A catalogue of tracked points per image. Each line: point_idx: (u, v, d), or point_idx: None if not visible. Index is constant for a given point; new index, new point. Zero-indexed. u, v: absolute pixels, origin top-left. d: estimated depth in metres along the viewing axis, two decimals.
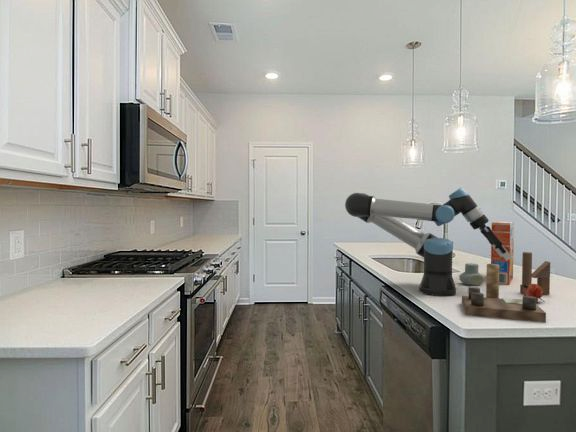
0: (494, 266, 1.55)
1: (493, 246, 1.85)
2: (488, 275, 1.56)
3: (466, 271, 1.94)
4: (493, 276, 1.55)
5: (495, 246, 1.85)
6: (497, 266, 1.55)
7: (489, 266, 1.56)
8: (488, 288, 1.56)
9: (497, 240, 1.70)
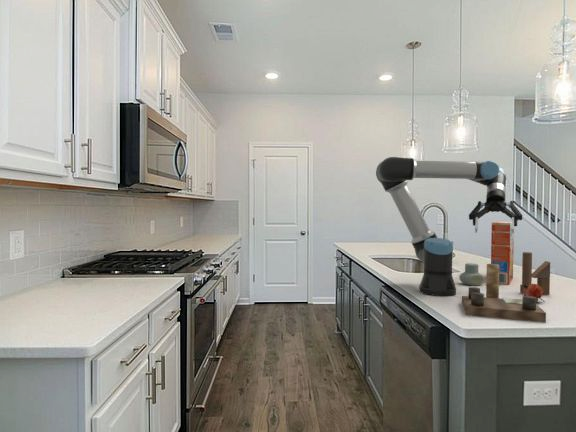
0: (494, 266, 1.55)
1: (477, 218, 1.72)
2: (488, 275, 1.56)
3: (466, 271, 1.94)
4: (493, 276, 1.55)
5: (477, 220, 1.72)
6: (497, 266, 1.55)
7: (489, 266, 1.56)
8: (488, 288, 1.56)
9: None
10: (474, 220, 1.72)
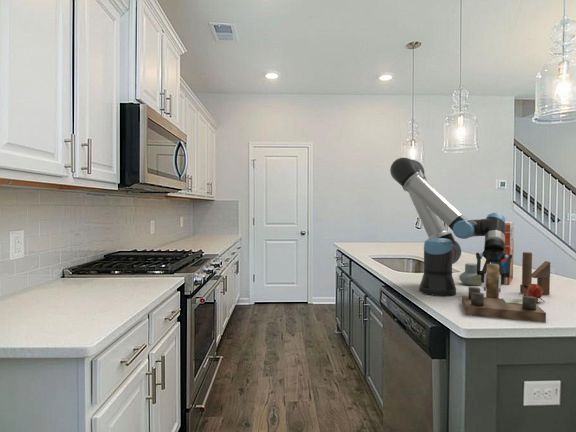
0: (494, 266, 1.55)
1: (486, 275, 1.58)
2: (488, 275, 1.56)
3: (466, 271, 1.94)
4: (493, 276, 1.55)
5: None
6: (497, 266, 1.55)
7: (489, 266, 1.56)
8: (488, 288, 1.56)
9: None
10: (482, 277, 1.58)
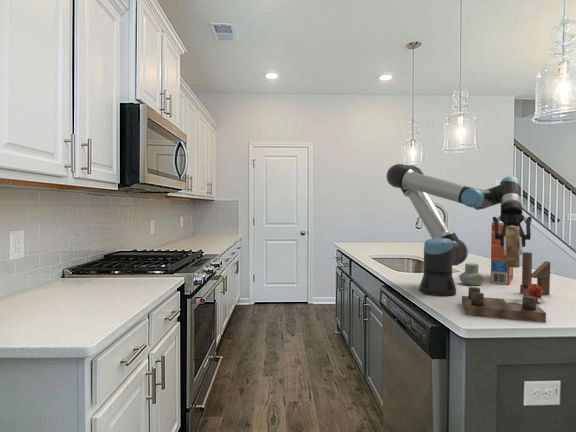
0: (514, 228, 1.47)
1: None
2: (508, 238, 1.48)
3: (466, 271, 1.94)
4: (513, 238, 1.47)
5: (505, 240, 1.50)
6: (517, 228, 1.47)
7: (509, 228, 1.48)
8: (508, 251, 1.48)
9: None
10: (502, 240, 1.50)
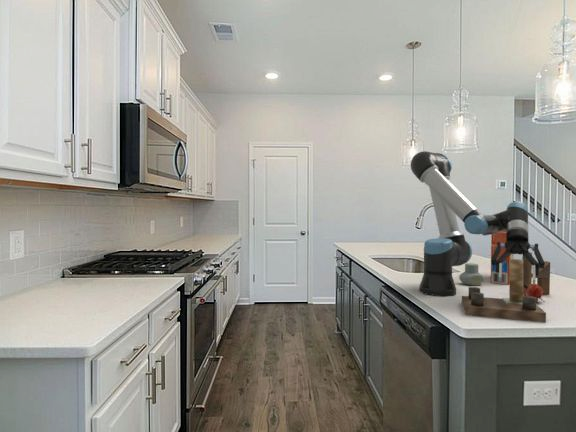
0: (518, 261, 1.43)
1: (501, 264, 1.48)
2: (511, 271, 1.45)
3: (466, 271, 1.94)
4: (517, 272, 1.43)
5: (501, 266, 1.48)
6: (521, 261, 1.43)
7: (512, 262, 1.44)
8: (512, 285, 1.45)
9: None
10: (497, 266, 1.48)
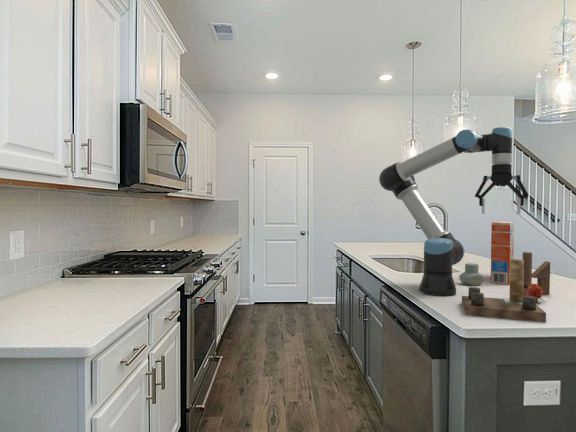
0: (519, 262, 1.43)
1: (484, 200, 1.72)
2: (512, 271, 1.44)
3: (466, 271, 1.94)
4: (518, 272, 1.43)
5: None
6: (522, 262, 1.43)
7: (513, 262, 1.44)
8: (512, 285, 1.45)
9: None
10: (481, 201, 1.73)
